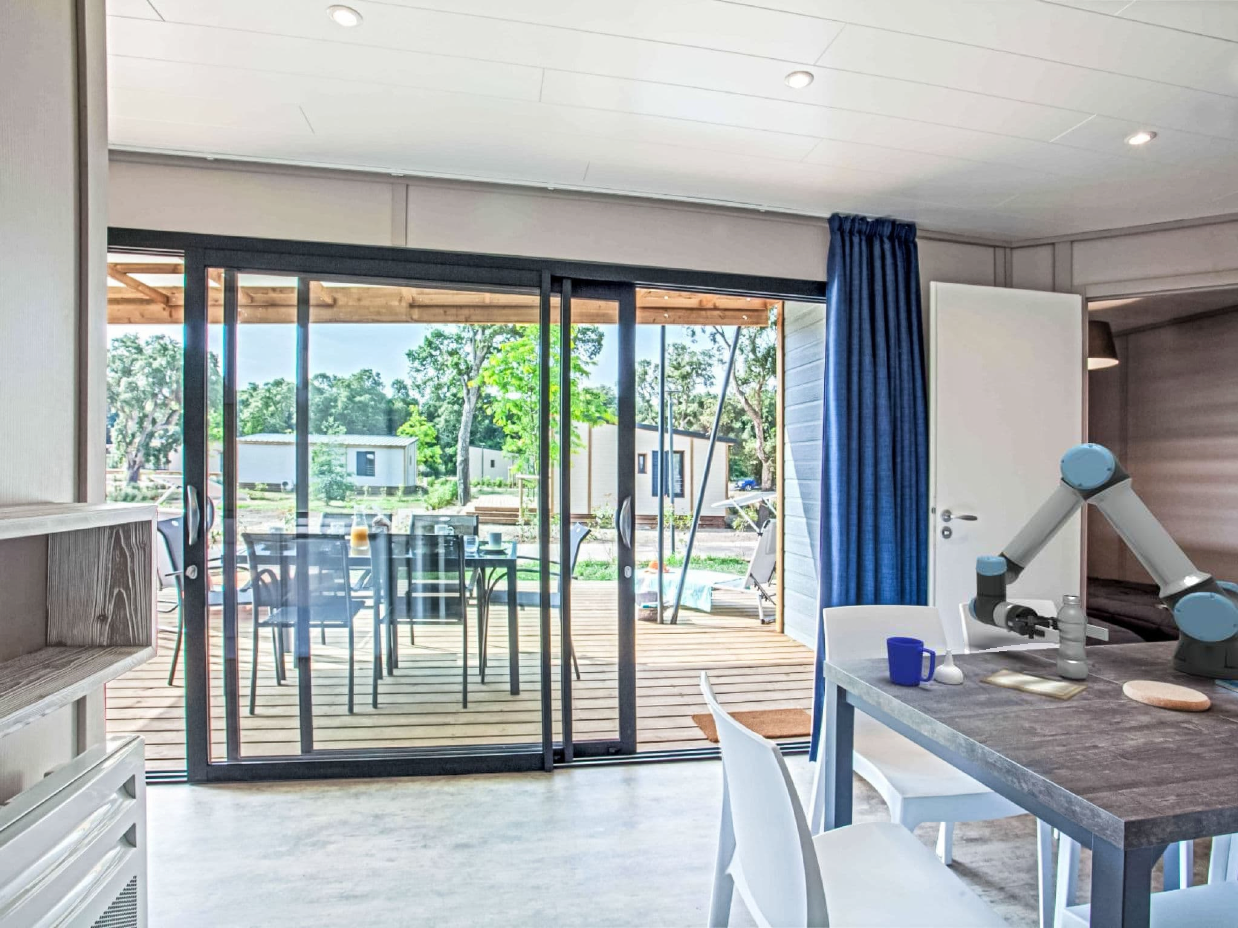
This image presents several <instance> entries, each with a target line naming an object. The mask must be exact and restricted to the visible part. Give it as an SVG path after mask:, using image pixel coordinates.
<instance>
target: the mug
mask: <svg viewBox="0 0 1238 928" xmlns="http://www.w3.org/2000/svg"><path fill="white" fill-rule="evenodd" d="M924 645H925V643H924V641H923V640H920V639H918V638H913V637H906V636H891V637H887V638H886V650H887V651H886V652H887V659H888V673H889V677H890V680H891V681H892V682H893V683H894V684H896V685H901V686H906V685H907V687H908V686H909V687H911V686H917V685H920V683H921V682H922V683H928V682H931V681H932V679H933V677H934V672H935V669H936V655H937V654H936V651H934V650H932V649H928V648H925V647H924ZM924 653H927V654H929V657H930V659H929V671H928V675H927V677H926V678H923V673H922V672H923V661H924V659H923V658H924Z"/></svg>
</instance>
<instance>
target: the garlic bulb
mask: <svg viewBox="0 0 1238 928" xmlns="http://www.w3.org/2000/svg"><path fill="white" fill-rule="evenodd" d="M945 650H946V652H945V657H944V662H943V664H940V665H938V666H937V667H935V669H934V674H933V677H934V678H935V680H936V681H937V682H939V683H941V682H942V684H945V683H946V685H959V684H960V685H961V684H962V683H963V681H964V674H963V672H962V671H961V669H960V668H958V667H957V666H955V663H954V660H953V659H954V658H953V653H952V649H951V648H946V649H945Z"/></svg>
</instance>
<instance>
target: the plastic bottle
mask: <svg viewBox="0 0 1238 928" xmlns="http://www.w3.org/2000/svg"><path fill="white" fill-rule="evenodd" d="M1062 604H1063V605H1062V607H1061V608H1060V609H1059V610H1058V611H1057V614H1056V616H1055V617H1056V618H1057V624H1058V630H1059V646H1058V657H1057V658H1056V659H1057V660H1056V669H1057V672H1058V674H1059V675H1060V676H1062V677H1064V678H1067V679H1070V680H1083V679H1086V678H1087V676H1088V675H1089V664H1088V661H1087V653H1086V652H1087V651H1086V629H1087V621H1088V622H1089V620H1088V617H1087V614H1086V613H1085V612H1084V610H1083V609H1082V608H1081V605H1082V602H1081V596H1079V595H1074V594H1063V595H1062ZM1058 630H1057V631H1058Z"/></svg>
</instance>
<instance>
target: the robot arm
mask: <svg viewBox="0 0 1238 928" xmlns="http://www.w3.org/2000/svg"><path fill="white" fill-rule="evenodd" d="M1059 465H1060V466H1059V468H1060V469H1059V470H1060V473H1061V477H1060V479H1059V484H1060V485H1059V486H1058V487H1056V489H1055V491H1054V492H1053V493H1052V494H1051V495H1050V496H1049V497H1048V498H1047V500H1045V502H1043V504H1042V505H1041V506H1040V507H1039V508H1038V509H1037V511H1036V512H1035V513H1034V514H1033V516H1032V517H1031V518H1030V519H1029V520H1028V521H1027V522H1026V524H1025V525H1023V527H1022V528H1021V529H1020V530H1019V532H1018V533H1017V534H1016V535H1015V536H1014V537H1013V539H1012V540H1011V541H1009V543H1008V544H1007V545H1006V546H1005V548H1004V549H1002V551H1001V552H1000V553H999V554H998V555H997V556H995V555H979V556H978V557H977V558H976V566H975V571H976V572H975V573H976V595H975V596H974V597H972V598H971V600H970V602H969V604H968V608H967V610H968V612H969V615H970V616H971V618H972V619H973V620H975V621H977V622H980V623H982V624H984V625H989V626H992V627H996V628H999V629H1002V630H1003V629H1004V630H1006V632H1007V633H1011V632H1012V633H1016V634H1018V635H1020V636H1023V637H1024V636H1027V639H1031V640H1034V639H1035V637H1036V638H1039V639H1042V640H1045V641H1049V642H1053V643H1059V639H1060V638H1059V630H1058V624H1057V617H1056V616H1050V617H1048V616H1045V615H1040V614H1038V613H1037V611H1036V610H1035V609H1034V608H1032V607H1030V606H1025V605H1021V604H1018V603H1013V602H1009V601H1007V586H1008V585H1012V584H1013V583H1015V582H1016V581H1017V580H1018V579H1019V578H1020V575H1021V574H1022V573H1023V572H1024V570H1025V569H1026V568H1027V567H1028V566H1029V565H1030V563H1031V562H1033V560H1034V559H1035V558H1036V557H1037V555H1038V554H1040V552H1041V551H1042V550H1044V548H1045V547H1046V546H1047V545H1048V544H1049V543H1050V541H1051V540H1052V539H1053V538H1054V537H1055V536H1056V535H1057V534H1058V533H1059V531H1061V530H1062V528H1063V527H1064V526H1065V525H1066V524H1067V523H1068V522H1069V520H1071V518H1072V517H1073V516H1074V515H1075V514H1076V513H1077V511H1079V510H1080V508H1081V507H1082V506H1084V504H1085V503H1086V504H1091V505H1095V506H1096V507H1097V508H1098V510H1099V511H1100V512H1101V513H1102V514H1103V516H1104V517H1105V518H1106V519H1107V521H1108V522H1109V524H1110V525H1111V526H1112V527H1113V529H1114V530H1115V531H1116V532H1117V534H1118V535H1119V536H1120V537H1121V538H1122V540H1123V541H1124V542H1125V544H1126V545H1127V546H1128V548H1129V549H1130V551H1131V552H1132V553H1133V554H1134V555H1135V557H1136V558H1137V559H1138V560H1139V562H1140V563H1141V565H1142V566H1143V567H1144V568H1145V569H1146V571H1147V572H1148V573H1149V575H1150V576H1151V577H1152V578H1153V579H1154V581H1155V582H1156V583H1157V584H1158V587H1159V588H1160V591H1159V595H1158V597H1159V598H1160V600H1161V601H1162V603H1164V605H1165V606H1166V607H1167V609H1168V610H1169V611H1170V613H1171V614H1172V616H1173V619H1174V621H1175V623H1176V625H1177V626H1178V628H1179V630H1178V631H1179V639H1178V640H1177V643H1176V644H1175V645H1176V646H1175V648H1174V650H1173V653H1172V655H1171V658H1170V659H1171V660H1170V661H1171V665H1170V666H1171V667H1172V668H1173V669H1175V670H1177V671H1180V672H1183V673H1187V674H1190V675H1195V676H1199V677H1206V678H1213V679H1222V680H1223V679H1224V680H1238V584H1237V583H1234V582H1231V581H1229V582H1228V581H1218V580H1215V578H1214V577H1213V576H1212V574H1210V573H1206V572H1202V571H1200V570H1198V569H1197V567H1196V566H1195V565H1194V563H1192V561H1191V560H1190V559H1189V558H1188V556H1187V555H1186V554H1185V553H1184V551H1183V550H1182V549H1181V548H1180V546H1179V545H1178V544H1177V543H1176V542H1175V541H1174V539H1173V538H1172V537H1171V536H1170V535H1169V533H1168V532H1167V531H1166V529H1165V528H1164V527H1163V526H1162V525H1161V523H1160V522H1159V521H1158V520H1157V518H1156V517H1155V516H1154V515H1153V513H1152V512H1151V511H1150V510H1149V508H1148V507H1147V506H1146V504H1145V503H1144V502H1143V501H1142V500H1141V499H1140V498H1139V496H1138V495H1137V494H1136V492H1135V491H1134V490H1133V489H1132V488H1131V485H1132V481H1133V478H1132V477H1131V476H1130V474H1129V473H1128V472H1127V471H1126V469H1124V467H1123V466H1122V465H1121V462H1120V459H1119V457H1118V455H1117V454H1116V453H1115V452H1114V451H1112V450H1111V449H1109V448H1107V447H1106V446H1103V445H1100V444H1097V443H1090V442H1089V443H1088V442H1087V443H1086V442H1085V443H1081V444H1078V445H1075V446H1073V447H1071V448H1070V449H1068V450H1067V451H1066V452H1065V453H1064V454H1063V457H1062V458H1061V461H1060V464H1059ZM1086 636H1087V637H1090V638H1094V639H1098V640H1102V641H1107V642H1108V641H1109V629H1108V628H1104V627H1101V626H1096V625H1093V623H1092V622H1089V620H1088V621H1087V629H1086ZM1086 636H1085V637H1086ZM1059 644H1060V643H1059Z"/></svg>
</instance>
